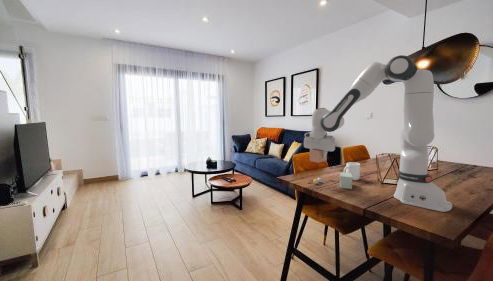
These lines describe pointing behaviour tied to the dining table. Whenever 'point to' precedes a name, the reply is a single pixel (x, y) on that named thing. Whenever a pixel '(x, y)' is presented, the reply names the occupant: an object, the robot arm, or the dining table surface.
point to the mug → (353, 170)
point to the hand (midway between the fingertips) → (318, 156)
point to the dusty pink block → (317, 155)
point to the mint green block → (345, 180)
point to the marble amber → (315, 181)
